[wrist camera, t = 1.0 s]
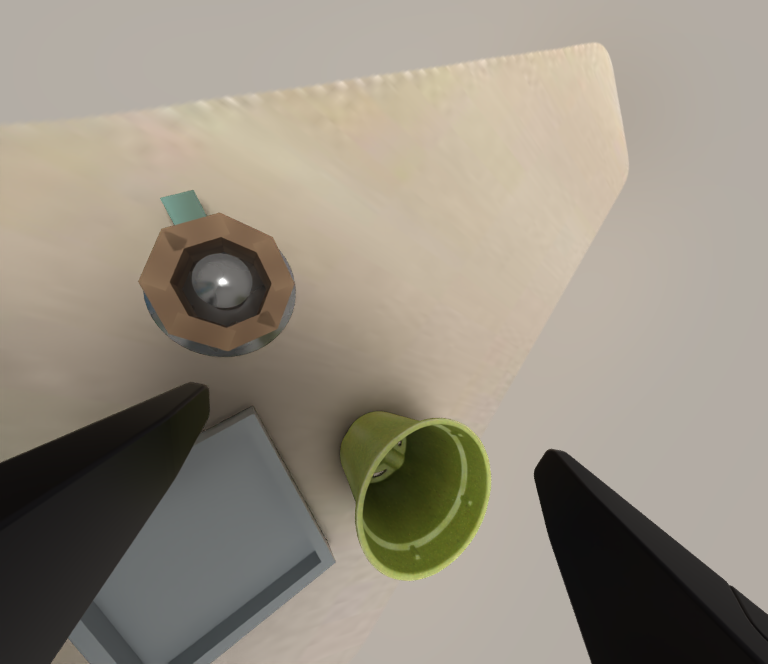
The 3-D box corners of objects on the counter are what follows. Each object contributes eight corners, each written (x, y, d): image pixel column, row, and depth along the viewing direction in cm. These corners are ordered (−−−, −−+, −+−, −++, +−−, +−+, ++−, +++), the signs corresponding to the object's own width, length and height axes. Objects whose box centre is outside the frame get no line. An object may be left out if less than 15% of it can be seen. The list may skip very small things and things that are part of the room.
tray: (148, 684, 20) (138, 721, 18) (21, 528, 17) (-5, 552, 15) (328, 544, 25) (335, 562, 23) (252, 405, 22) (254, 413, 20)
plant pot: (307, 410, 24) (341, 455, 16) (411, 377, 27) (481, 399, 20) (331, 521, 25) (375, 614, 17) (428, 473, 29) (500, 531, 21)
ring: (197, 360, 20) (188, 368, 16) (117, 219, 18) (87, 194, 14) (297, 315, 23) (309, 314, 19) (237, 189, 21) (237, 161, 17)
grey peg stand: (190, 380, 20) (174, 398, 15) (113, 248, 18) (67, 221, 13) (314, 322, 24) (334, 322, 19) (260, 206, 22) (266, 172, 17)
